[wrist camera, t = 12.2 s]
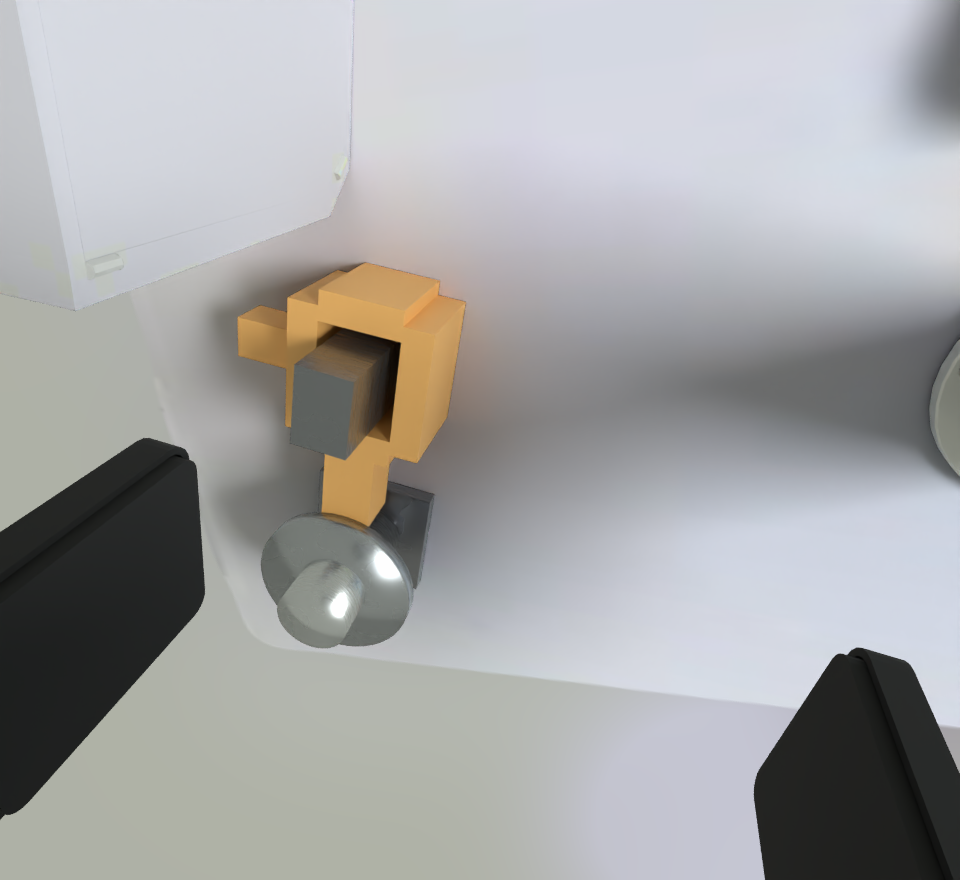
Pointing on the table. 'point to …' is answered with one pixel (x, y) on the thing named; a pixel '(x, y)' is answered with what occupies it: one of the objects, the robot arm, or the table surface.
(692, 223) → the table surface
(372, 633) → the grey disc with stub
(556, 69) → the table surface
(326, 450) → the rectangular block
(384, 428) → the bracket head
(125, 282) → the game console
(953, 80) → the table surface
